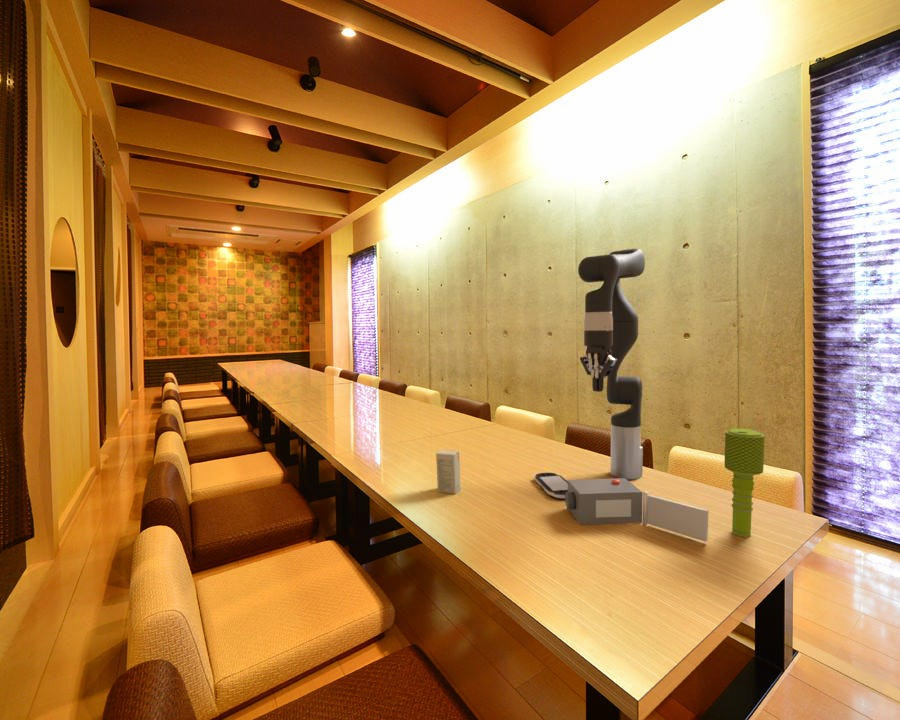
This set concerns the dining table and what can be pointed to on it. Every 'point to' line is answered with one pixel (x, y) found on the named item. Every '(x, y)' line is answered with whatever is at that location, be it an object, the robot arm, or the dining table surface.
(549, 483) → the gaming console
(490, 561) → the dining table surface
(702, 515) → the side door
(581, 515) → the box
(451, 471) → the skincare box
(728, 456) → the green knurled bolt
